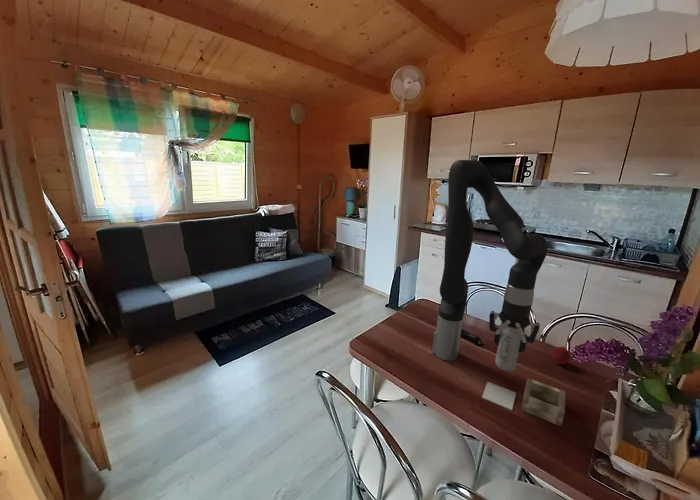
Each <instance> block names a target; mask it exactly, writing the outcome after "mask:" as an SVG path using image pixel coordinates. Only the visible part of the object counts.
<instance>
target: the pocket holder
mask: <svg viewBox="0 0 700 500" xmlns="http://www.w3.org/2000/svg"><path fill="white" fill-rule="evenodd" d="M520 410H521V411H523V412H525V413H527V414H530V415H532V416H534V417H538V418H540V419H542V420H544V421H548V422H549V423H551V424H555V425H557V426H559V427H562V424H563V421H564V417H565V415H566V414H565V413H566V391H565V390H563V389H559V388H556V387H554V386H551V385H549V384H545V383H543V382H540V381H536V379H535V380H534V379H531V378H529V377H527V379H526V382H525V388H524V392H523V396H522V400H521V407H520Z"/></svg>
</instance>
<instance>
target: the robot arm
mask: <svg viewBox="0 0 700 500" xmlns="http://www.w3.org/2000/svg"><path fill="white" fill-rule="evenodd" d="M447 177H448V179H447V182H448V183H447V186H448V188H447V190H448V191H447V192H448V193H447V194H448V195H447V196H448V206H447V221H446V227H445V228H446V229H445V237H444V238H445V239H444V254H443V255H444V259H443V260H444V264H443V271H442V277H441V283H440V286H439V295H440V297H441V299H440V304H439V307H438V313H437V323H436V329H435V331H434V334H433V339H432V340H433V342H432V349H431V354H433V355H435V356H436V358H437V359H441V360H443V361H448V362H449V361H455V360H457V358H458V355H459V347H460V341H461V336H460V335H461V329H463V328H462V327H463V320H464V314H465V311H466V305H467V300H468V293H469V284H468V282H467V281H468V280H467V279H466V278H465V274H466V267H467V264H468V260H469V257H470V254H471V250H472V245H473V238H474V231H475V230H474V229H475V226H474V222H473V219H472V216H471V213H470V212H469V208H468V206H467V205H468V203H467V197H468V196H467V195H468V189H472V188H473V189H474V190H475V191H476V192H477V193H478V194H479V195H480V196H481V198H482V199H483V202H484V203H483V204H484V207H485V213H486V215H487V217H488V219H489V220H490V222H491V223H492V224H493V225H494V226H495V228H496V229H497V231H498V232H499V233H500V235H501V238H502V240H503V243H504V245H505V247H506V250H507V251H508V253H509V254H510V255H511V256H512V257H513V258H515V259H517V262H516V263H515V264H513V265H511V266H510V269H509V274H508V279H507V285H506V287H505V290H504V294H503V301H502V306H501V310H500V312H496V311H494V310H491V311H490V313H489V316H488V317H489V331H490V332H493V333H494V340H493V342H494V343H495V345H496V346H498V343H499V338H500V333H501V330H503V329H504V328H505V327H506V326H511V327H515V328H517V329H518V331H519V333H520V336H521V344H520V349H519V353H523V352H525V350H526V345H527V344H528V343H530V344H534V342H535V340H536V338H537V335H538V333H539V330H540V328H541V327H540V326H541V324H540V323H539V322H536V323H535V322H534V321H531V320H530V316H531V311H532V306H533V301H534V295H535V288H536V286H535V285H536V281H537V276H538V274H539V271H540V270H541V268H542V265H543V263H544V261H545V259H546V257H547V254H548V251H549V250H548V249H549V244H548V241H547V239H546V238H545V237H544V236H543V235H542V234H540V233H528V234H526V233H524V231H523V229H522V228H523V227H524V224H525V223H524V222H525V221H524V219H523V217H521V216H520V214H519V213H518V212H517V211H516V210H515V209H514V208H513V206H512V205H511V204H510V203H509V202H508V200H507V199H506V198H505V197H504V195H503V193H502V192H501V190H500V189H499V187H498V186H497V184H496V182H495V181H494V179H493V177H492V176H491V174H490V172H489V170H488V168H487V167H486V166H485V165H484V163H483V162H481V161H479V160H476V159H457V160H455V161H454V162H453V163H452V164H451V166H450V167H449V171H448V176H447ZM498 318H499V320H500V321H501V323H500V324H499V325H498V326H497V327H496V320H497V319H498ZM529 326H530V330H531V332H530V333H531V334H530V335H529V336H527V333H526V328H527V327H529Z"/></svg>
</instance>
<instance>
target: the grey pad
mask: <svg viewBox="0 0 700 500" xmlns="http://www.w3.org/2000/svg"><path fill="white" fill-rule="evenodd" d="M516 396H517V392H515V391H512V390H510V389H507V388H505V387H502V386H499V385H498V384H495V383H492V382H489V381H487V382H486V385H485V388H484V390H483V393H482V396H481V399H483V400H484V401H485V400H486V401H488V402H490V403H493V404H495V405H498V407H499V406H500V407H502V408H504V409H506V410H509V411H513V408H514V405H515V399H516Z"/></svg>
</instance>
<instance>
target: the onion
mask: <svg viewBox="0 0 700 500" xmlns="http://www.w3.org/2000/svg"><path fill="white" fill-rule="evenodd" d="M551 356H552V357H551V358H552V359H553V360H554V361H555V362H556V363H557V364H559V365H564V364H567V363H568V362H570V360H571V354H570V351H569V350H568V349H567V348H566V346H565V345H564V344H563V345H561V346H557V347H555V348H554V349H553V350H552V351H551Z"/></svg>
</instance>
